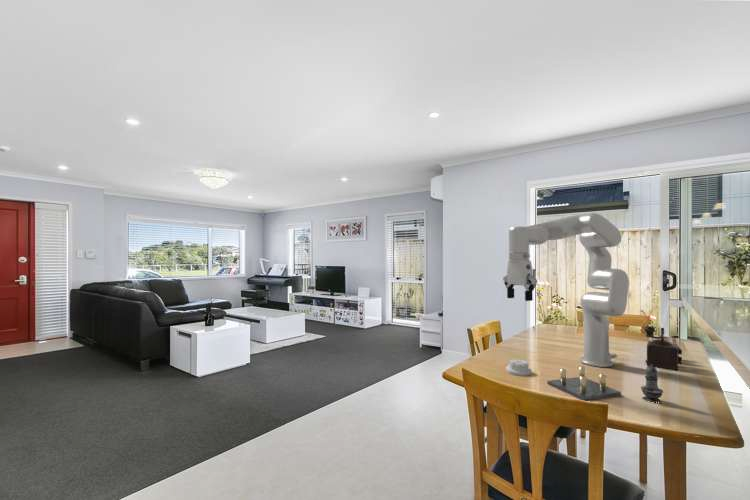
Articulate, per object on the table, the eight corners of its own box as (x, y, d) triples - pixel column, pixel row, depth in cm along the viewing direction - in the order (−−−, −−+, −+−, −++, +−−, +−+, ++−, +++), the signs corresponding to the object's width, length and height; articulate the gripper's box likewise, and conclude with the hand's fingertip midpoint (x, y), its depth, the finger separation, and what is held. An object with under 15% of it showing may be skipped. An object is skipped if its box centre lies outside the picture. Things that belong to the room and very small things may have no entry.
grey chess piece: (658, 398, 118) (658, 362, 119) (666, 405, 113) (666, 367, 113) (638, 395, 120) (637, 360, 121) (644, 402, 115) (644, 365, 115)
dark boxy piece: (646, 360, 161) (646, 321, 161) (678, 365, 154) (677, 324, 154) (643, 368, 150) (642, 326, 150) (677, 374, 142) (676, 329, 143)
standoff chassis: (581, 379, 136) (581, 363, 136) (620, 395, 121) (620, 377, 121) (547, 384, 132) (547, 367, 132) (583, 400, 116) (583, 381, 116)
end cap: (658, 356, 167) (658, 342, 168) (678, 359, 164) (677, 344, 164) (661, 362, 159) (661, 346, 159) (682, 364, 155) (681, 349, 155)
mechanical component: (507, 375, 142) (534, 377, 140) (507, 364, 142) (534, 366, 140) (504, 367, 152) (528, 369, 150) (503, 357, 152) (528, 358, 150)
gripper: (543, 257, 137) (543, 301, 136) (510, 257, 153) (511, 296, 152) (528, 257, 134) (529, 302, 133) (496, 257, 150) (497, 297, 149)
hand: (519, 299), depth 143 cm, fingers open, 9 cm apart
